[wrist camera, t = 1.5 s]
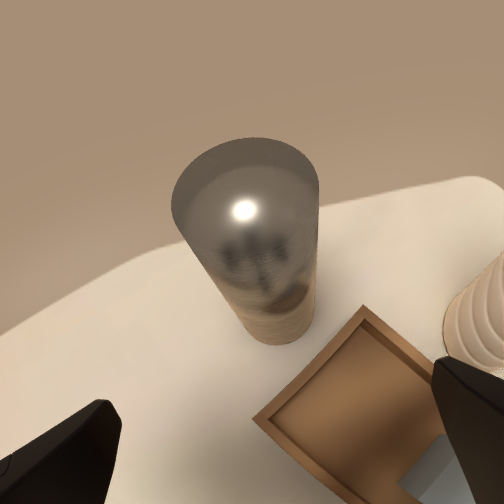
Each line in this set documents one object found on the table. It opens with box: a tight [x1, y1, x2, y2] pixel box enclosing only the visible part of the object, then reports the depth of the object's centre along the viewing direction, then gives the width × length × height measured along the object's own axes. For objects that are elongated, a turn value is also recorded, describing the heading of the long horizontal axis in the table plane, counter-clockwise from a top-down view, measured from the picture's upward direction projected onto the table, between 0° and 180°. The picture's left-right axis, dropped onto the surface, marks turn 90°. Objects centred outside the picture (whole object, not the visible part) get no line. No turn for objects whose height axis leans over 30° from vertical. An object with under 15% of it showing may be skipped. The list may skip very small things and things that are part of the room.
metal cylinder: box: [171, 138, 319, 345], centre depth 16 cm, size 5×5×13 cm
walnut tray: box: [252, 305, 446, 504], centre depth 14 cm, size 15×9×3 cm, turn 44°
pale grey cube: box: [397, 434, 476, 504], centre depth 11 cm, size 4×4×4 cm
